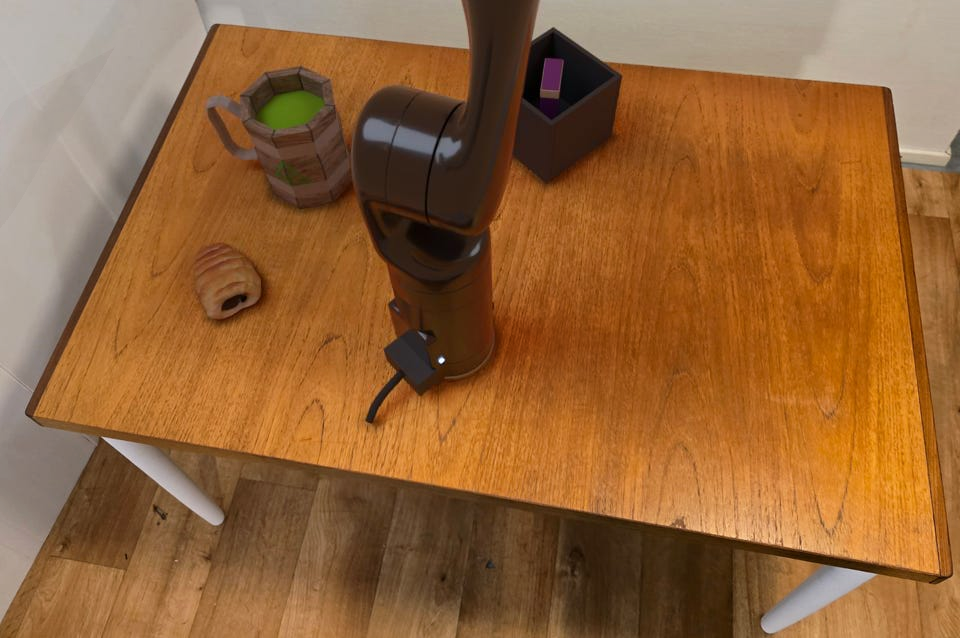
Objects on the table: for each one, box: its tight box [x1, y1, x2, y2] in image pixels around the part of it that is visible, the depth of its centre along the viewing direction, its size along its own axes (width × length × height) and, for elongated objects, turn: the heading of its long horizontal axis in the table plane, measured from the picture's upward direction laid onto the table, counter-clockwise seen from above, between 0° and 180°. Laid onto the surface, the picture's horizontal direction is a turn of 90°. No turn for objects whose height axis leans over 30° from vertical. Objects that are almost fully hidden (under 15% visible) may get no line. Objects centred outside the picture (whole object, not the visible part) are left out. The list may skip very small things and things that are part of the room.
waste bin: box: [512, 26, 623, 184], centre depth 89 cm, size 11×11×10 cm
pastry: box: [192, 241, 262, 320], centre depth 82 cm, size 9×7×4 cm
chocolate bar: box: [540, 58, 563, 120], centre depth 88 cm, size 2×5×9 cm, turn 171°
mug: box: [205, 65, 353, 209], centre depth 86 cm, size 16×11×12 cm
